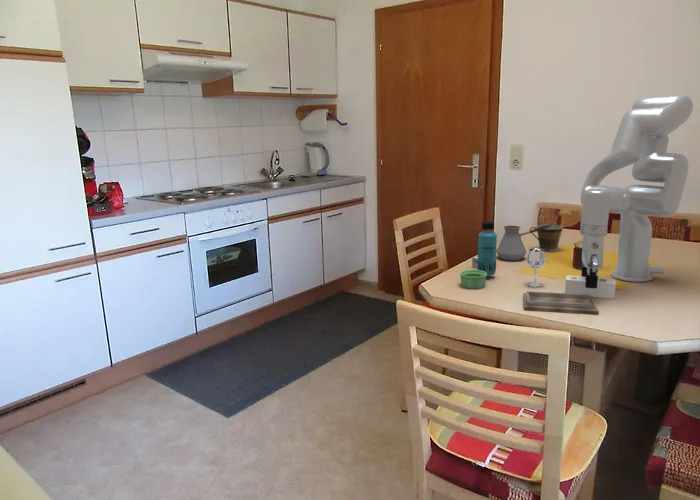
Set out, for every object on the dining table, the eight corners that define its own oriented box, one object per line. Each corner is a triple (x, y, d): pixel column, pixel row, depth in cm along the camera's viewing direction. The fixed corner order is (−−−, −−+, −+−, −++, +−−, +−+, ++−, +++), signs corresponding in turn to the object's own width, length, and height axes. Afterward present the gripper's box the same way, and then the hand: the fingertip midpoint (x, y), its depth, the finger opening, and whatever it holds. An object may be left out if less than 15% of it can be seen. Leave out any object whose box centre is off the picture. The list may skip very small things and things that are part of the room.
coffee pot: (492, 260, 207) (493, 223, 203) (501, 253, 216) (502, 218, 212) (547, 266, 195) (549, 227, 191) (555, 259, 204) (557, 221, 201)
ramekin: (454, 284, 179) (454, 271, 178) (476, 280, 183) (476, 268, 182) (470, 291, 171) (470, 278, 170) (492, 286, 175) (492, 274, 174)
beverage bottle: (474, 275, 188) (475, 220, 183) (492, 274, 188) (493, 219, 184) (480, 280, 182) (481, 224, 177) (498, 279, 182) (500, 223, 177)
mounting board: (591, 299, 159) (592, 292, 158) (598, 314, 147) (599, 307, 146) (523, 295, 164) (523, 289, 164) (524, 310, 152) (524, 302, 152)
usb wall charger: (471, 267, 199) (472, 257, 198) (485, 264, 202) (485, 254, 201) (479, 269, 195) (479, 259, 194) (492, 266, 198) (493, 256, 198)
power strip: (614, 294, 163) (615, 278, 162) (614, 299, 159) (615, 283, 157) (565, 290, 169) (566, 275, 168) (564, 294, 165) (565, 279, 163)
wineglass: (535, 288, 171) (536, 253, 168) (522, 283, 176) (523, 249, 173) (547, 285, 174) (549, 250, 171) (534, 280, 179) (536, 247, 176)
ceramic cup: (563, 248, 220) (564, 225, 218) (558, 253, 212) (559, 229, 210) (532, 245, 227) (532, 223, 225) (526, 250, 219) (527, 227, 216)
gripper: (612, 235, 150) (606, 292, 153) (602, 225, 166) (597, 277, 169) (584, 234, 152) (579, 290, 155) (576, 224, 168) (572, 275, 172)
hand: (588, 283), depth 162 cm, fingers open, 9 cm apart
